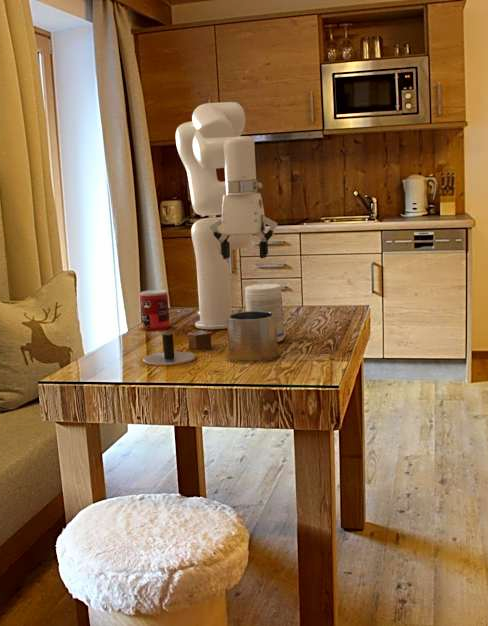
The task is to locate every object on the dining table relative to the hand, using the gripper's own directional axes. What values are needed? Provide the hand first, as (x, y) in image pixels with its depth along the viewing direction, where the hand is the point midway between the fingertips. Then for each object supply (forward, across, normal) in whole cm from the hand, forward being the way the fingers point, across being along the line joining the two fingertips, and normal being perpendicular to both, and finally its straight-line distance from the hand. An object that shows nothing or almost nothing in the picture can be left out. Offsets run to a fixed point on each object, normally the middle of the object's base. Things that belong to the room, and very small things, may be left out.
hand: (244, 258), depth 205 cm
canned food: (+24, +38, -25) cm, 51 cm away
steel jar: (+24, -3, +7) cm, 25 cm away
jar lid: (+23, +16, +14) cm, 31 cm away
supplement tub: (+24, 0, -11) cm, 26 cm away
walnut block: (+24, +14, 0) cm, 27 cm away
